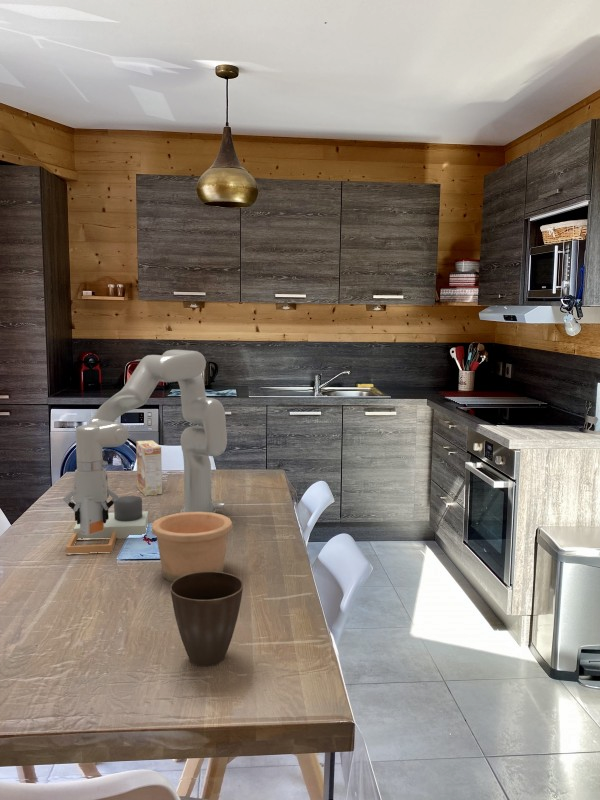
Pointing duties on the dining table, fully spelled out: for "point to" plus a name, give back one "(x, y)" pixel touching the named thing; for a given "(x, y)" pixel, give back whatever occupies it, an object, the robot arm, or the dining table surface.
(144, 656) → the dining table surface
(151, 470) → the coffeecake box
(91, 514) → the skincare box
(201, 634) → the plant pot
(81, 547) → the slab with grey cylinder
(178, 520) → the pottery
